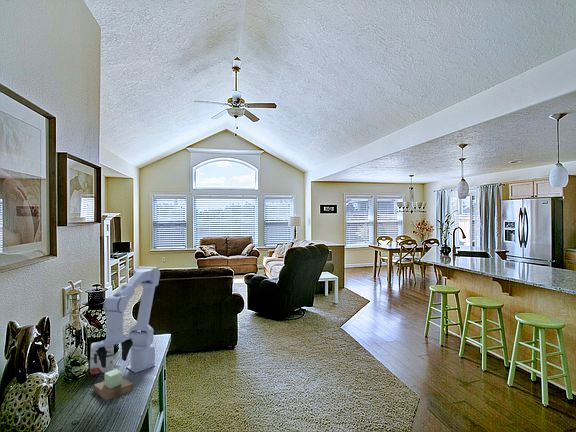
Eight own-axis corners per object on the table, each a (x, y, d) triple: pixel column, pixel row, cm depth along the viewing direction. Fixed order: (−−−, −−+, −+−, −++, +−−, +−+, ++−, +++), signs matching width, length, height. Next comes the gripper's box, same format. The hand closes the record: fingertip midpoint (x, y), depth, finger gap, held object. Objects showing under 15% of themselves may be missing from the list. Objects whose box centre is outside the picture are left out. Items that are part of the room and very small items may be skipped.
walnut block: (120, 382, 135) (120, 375, 135) (132, 391, 129) (133, 383, 129) (93, 392, 127) (94, 384, 127) (105, 402, 121) (105, 393, 121)
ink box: (90, 375, 139) (91, 347, 139) (89, 370, 143) (90, 343, 143) (113, 370, 144) (114, 343, 144) (112, 366, 148) (112, 339, 148)
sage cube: (116, 380, 131) (116, 368, 131) (122, 384, 128) (122, 372, 128) (104, 384, 127) (104, 373, 127) (110, 388, 125) (110, 376, 125)
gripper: (99, 335, 120) (98, 373, 120) (138, 325, 131) (137, 360, 131) (90, 330, 124) (90, 367, 124) (129, 321, 136) (128, 355, 136)
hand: (114, 363), depth 128 cm, fingers open, 7 cm apart
